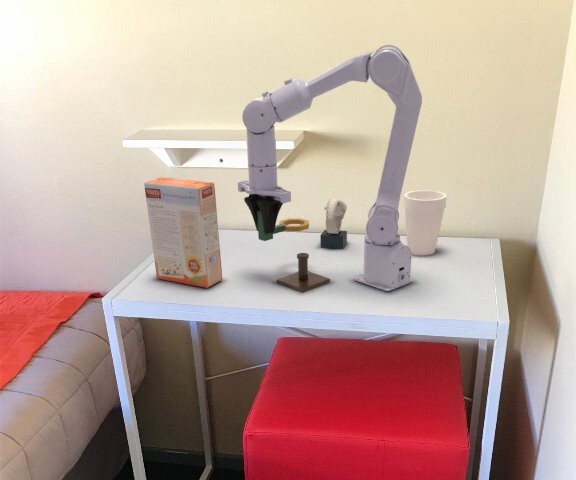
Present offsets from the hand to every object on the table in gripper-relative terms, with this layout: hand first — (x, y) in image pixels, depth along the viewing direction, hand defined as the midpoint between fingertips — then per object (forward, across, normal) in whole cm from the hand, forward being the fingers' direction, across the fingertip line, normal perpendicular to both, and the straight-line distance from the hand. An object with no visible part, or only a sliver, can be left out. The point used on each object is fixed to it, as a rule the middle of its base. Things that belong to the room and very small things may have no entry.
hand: (265, 231), depth 138 cm
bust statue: (+10, -5, +25) cm, 28 cm away
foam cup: (+10, +13, +36) cm, 40 cm away
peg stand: (+10, +8, +3) cm, 13 cm away
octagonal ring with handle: (+2, 0, +5) cm, 5 cm away
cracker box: (+10, -11, -12) cm, 20 cm away
